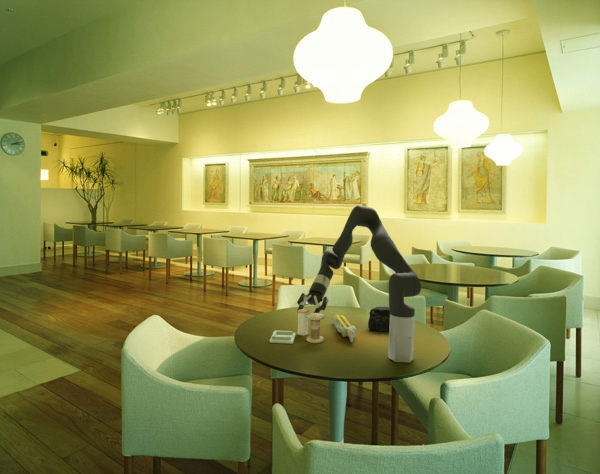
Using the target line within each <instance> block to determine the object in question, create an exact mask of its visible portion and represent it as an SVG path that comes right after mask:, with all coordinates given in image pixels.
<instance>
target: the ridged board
mask: <svg viewBox="0 0 600 474" xmlns="http://www.w3.org/2000/svg"><path fill="white" fill-rule="evenodd" d="M296 335H297V333H296V332H294V331H293V330H292V331H291V330H274V331H273V332H272V335H271V336H270V339H269V343H271V344H291V345H292V344H294V342H295V339H296V337H297V336H296Z"/></svg>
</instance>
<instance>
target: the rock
mask: <svg viewBox="0 0 600 474" xmlns="http://www.w3.org/2000/svg"><path fill="white" fill-rule="evenodd" d="M368 315H369V318H368V320H367V321H368V322H367V327H368V329H369V330H373V331H375V332H380V331H384V332H386V331H388V332H389V325H390V307H389V306H376V307H374V308H371V309H370V311H369V313H368Z"/></svg>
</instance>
